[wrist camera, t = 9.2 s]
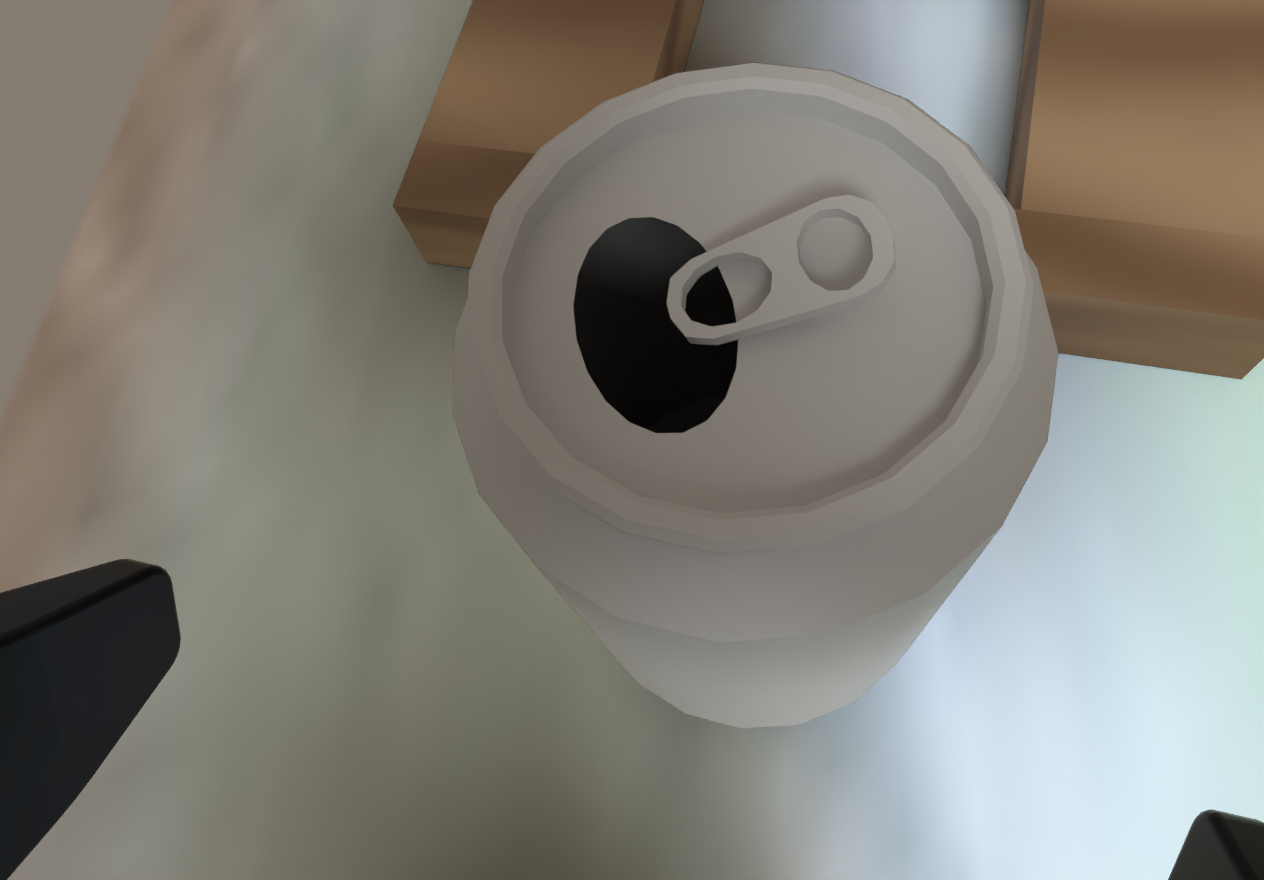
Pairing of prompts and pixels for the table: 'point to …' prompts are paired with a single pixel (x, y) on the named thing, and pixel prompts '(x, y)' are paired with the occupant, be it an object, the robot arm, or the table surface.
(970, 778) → the table surface
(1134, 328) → the pocket board
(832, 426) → the can
